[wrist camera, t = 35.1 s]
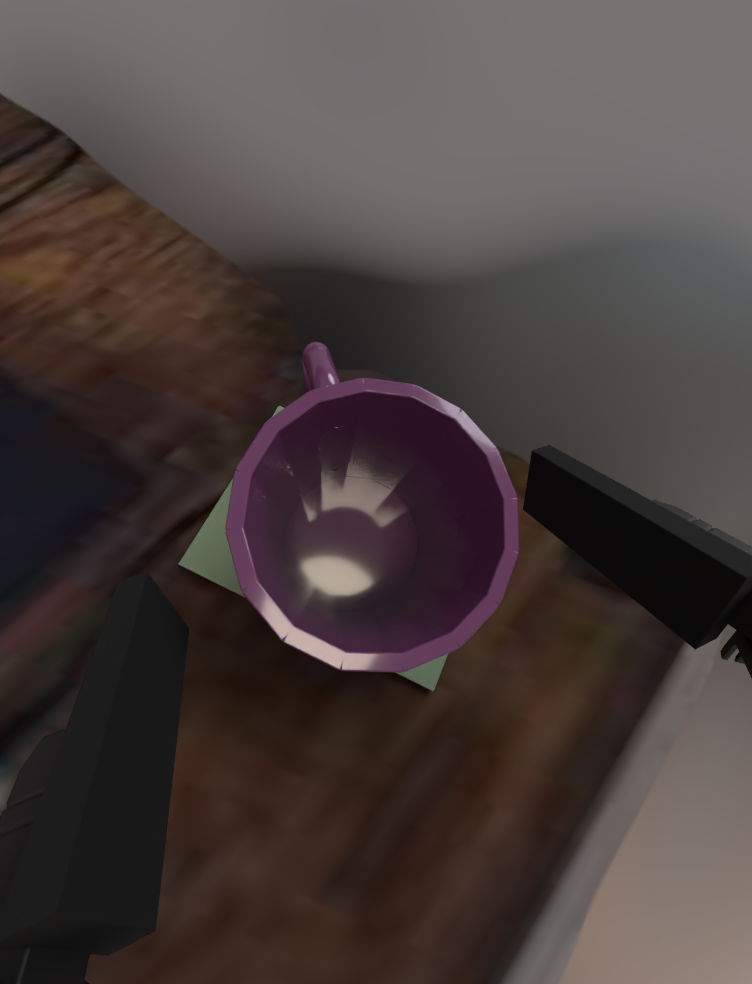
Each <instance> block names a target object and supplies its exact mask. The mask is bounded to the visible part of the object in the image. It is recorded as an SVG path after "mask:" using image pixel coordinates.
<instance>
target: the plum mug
mask: <svg viewBox="0 0 752 984" xmlns="http://www.w3.org/2000/svg"><path fill="white" fill-rule="evenodd" d="M302 361H303V370H304V379H305V389H306V394H304V395H303V396H301V397H300V398H299V399H297V400H296V401H294V402H293V403H291V404H290V405H289V406H287V407H286V408H284V409H283V410H281V411H280V412H278V413H277V414H276V415H274V416H273V417H271V418H270V419H268V420H267V422H265V423H264V425H263V426H262V428H261V429H260V431H259V433H258V434H257V436H256V437H255V439H254V440H253V442H252V444H251V445H250V447H249V448H248V450H247V451H246V453H245V455H244V456H243V458H242V459H241V461H240V462H239V464H238V466H237V467H236V469H235V470H236V471H235V472H234V476H233V482H232V489H231V495H230V501H229V507H228V514H227V520H226V526H225V529H226V532H225V533H226V537H227V540H228V544H229V548H230V552H231V556H232V559H233V563H234V567H235V571H236V575H237V578H238V582H239V586H240V589H241V591H242V593H243V595H244V596H245V597H246V598H247V600H248V601H249V602H250V603H251V605H252V606H253V607H254V608H255V609H256V611H257V612H258V613H259V614H260V616H261V617H262V618H263V619H264V621H265V622H266V623H267V624H268V626H269V627H270V628H271V629H272V630H273V632H274V633H275V634H276V635H277V637H278V638H279V639H280V640H281V641H283V643H285V644H287V645H289V646H291V647H293V648H295V649H297V650H299V651H301V652H303V653H305V654H307V655H309V656H311V657H313V658H315V659H317V660H319V661H321V662H323V663H325V664H327V665H329V666H331V667H333V668H335V669H337V670H340V669H341V671H361V672H398V673H402V672H403V671H404V672H406V671H408V670H411V669H413V668H415V667H418V666H420V665H422V664H425V663H427V662H430V661H432V660H434V659H437V658H439V657H441V656H444V655H446V654H448V653H451V652H453V651H455V650H458V649H459V647H462V646H463V645H464V644H465V642H466V641H467V640H468V639H469V638H470V637H471V636H472V635H473V634H474V633H475V632H476V631H477V630H478V628H479V627H480V626H481V625H482V624H483V623H484V622H485V621H486V620H487V619H488V618H489V617H490V616H491V615H492V613H493V612H494V611H495V610H496V609H497V608H498V607H499V605H500V604H501V601H502V598H503V596H504V593H505V590H506V587H507V585H508V582H509V579H510V576H511V574H512V571H513V568H514V565H515V563H516V560H517V557H518V554H519V553H518V552H519V524H518V499H517V495H516V492H515V490H514V487H513V485H512V482H511V480H510V478H509V475H508V473H507V470H506V468H505V465H504V463H503V461H502V458H501V456H500V453H499V451H498V449H496V446H495V445H494V444H493V443H492V442H491V440H490V439H488V437H487V436H486V435H485V434H484V433H483V432H482V431H481V430H480V428H479V427H478V426H477V425H476V424H475V423H474V422H473V421H472V420H471V419H470V417H469V416H468V415H467V414H466V413H465V412H464V411H463V410H461V408H459V407H457V406H455V405H453V404H451V403H449V402H448V401H446V400H444V399H441V398H440V397H438V396H436V395H434V394H432V393H430V392H429V391H427V390H425V389H423V388H421V387H419V386H417V385H416V386H415V385H414V384H407V383H400V382H393V381H385V380H378V379H370V378H364V379H363V378H359V379H355V380H351V381H347V382H342V383H340V380H339V377H338V374H337V371H336V368H335V365H334V362H333V360H332V357H331V354H330V351H329V349H328V348H327V347H326V346H325V345H324V344H322V343H320V342H311V343H309V344H308V345H306V346H305V348H304V350H303V353H302Z"/></svg>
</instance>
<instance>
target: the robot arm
mask: <svg viewBox="0 0 752 984" xmlns="http://www.w3.org/2000/svg"><path fill="white" fill-rule="evenodd" d="M523 510H524V511H526V512H527V513H528V514H529V515H531V516H532V517H533V518H534V519H536V520H537V521H538V522H539V523H540V524H542V525H543V526H544V527H545V528H547V529H548V530H549V531H550V532H552V533H553V534H554V535H555V536H556V537H558V538H559V539H560V540H561V541H563V542H564V543H565V544H566V545H568V546H569V547H570V548H571V549H572V550H574V551H575V552H576V553H577V554H579V555H580V556H581V557H582V558H584V559H585V560H586V561H587V562H588V563H590V564H591V565H592V566H593V567H595V568H596V569H597V570H598V571H599V572H601V573H602V574H603V575H604V576H606V577H607V578H608V579H609V580H611V581H612V582H613V583H614V584H615V585H617V586H618V587H619V588H620V589H622V590H623V591H624V592H625V593H627V594H628V595H629V596H630V597H631V598H633V599H634V600H635V601H636V602H638V603H639V604H640V605H641V606H643V607H644V608H645V609H646V610H647V611H649V612H650V613H651V614H652V615H654V616H655V617H656V618H657V619H659V620H660V621H661V622H662V623H663V624H665V625H666V626H667V627H668V628H670V629H671V630H672V631H673V632H675V633H676V634H677V635H678V636H679V637H681V638H682V639H683V640H684V641H686V642H687V643H688V644H689V645H691V646H692V647H693V648H694V649H697V648H699V647H701V646H703V645H705V644H707V643H709V642H710V641H712V640H714V639H716V638H717V637H718V636H719V635H720V633H721V632H722V631H723V629H724V628H725V627H726V626H727V624H729V625H730V626H732V627H733V628H735V629H736V632H735V633H734V634H733V636H732V637H731V638H730V639H729V640H728V642H727V643H726V644H725V645H724V647H723V648H722V650H721V657H722V659H725V660H727V659H728V658H729V657H730V656H731V655H732V654H733V652H734V651H735V650H736V649H737V648H738V650H739V653H738V654H737V655H736V658H735V662H739V663H744V664H745V665H746V667H747V669H748V671H749V673H750V675H751V678H752V547H751V546H749V545H747V544H745V543H744V542H741V541H740V540H738V539H736V538H734V537H732V536H730V535H728V534H726V533H725V532H723V531H721V530H719V529H717V528H712V526H711V525H709V524H708V523H706V522H704V521H702V520H700V519H699V520H697V519H696V517H694V516H692V515H691V514H689V513H687V512H685V511H683V510H681V509H679V508H677V507H675V506H672V505H669V504H666V503H662V502H659V501H656V500H653V501H651V500H649V499H648V498H646V497H644V496H642V495H640V494H638V493H637V492H635V491H633V490H631V489H629V488H627V487H626V486H624V485H622V484H620V483H618V482H616V481H615V480H613V479H611V478H609V477H607V476H605V475H604V474H602V473H600V472H598V471H596V470H594V469H592V468H591V467H589V466H587V465H585V464H583V463H582V462H580V461H578V460H576V459H574V458H572V457H570V456H569V455H567V454H565V453H563V452H561V451H559V450H558V449H556V448H554V447H552V446H550V445H548V446H544V447H541V448H538V449H535V450H532V454H531V461H530V467H529V474H528V480H527V487H526V493H525V500H524V506H523ZM188 635H189V627H188V626H187V625H186V623H185V622H184V621H183V619H182V618H181V617H180V615H179V614H178V613H177V611H176V610H175V609H174V607H173V606H172V604H171V603H170V602H169V600H168V599H167V598H166V596H165V595H164V594H163V592H162V591H161V590H160V588H159V587H158V586H157V584H156V583H155V581H154V580H153V579H152V577H151V576H150V575H149V573H148V572H146V573H143V574H140V575H137V576H134V577H131V578H127V579H124V580H121V581H118V584H117V587H116V590H115V593H114V595H113V598H112V601H111V604H110V607H109V609H108V612H107V615H106V618H105V621H104V623H103V626H102V629H101V632H100V635H99V637H98V640H97V643H96V646H95V649H94V652H93V654H92V657H91V660H90V663H89V666H88V668H87V671H86V674H85V677H84V680H83V682H82V685H81V688H80V691H79V694H78V696H77V699H76V702H75V705H74V708H73V711H72V713H71V716H70V719H69V722H68V725H67V727H66V729H63V730H61V731H58V732H56V733H53V734H50V735H48V736H45V737H43V739H42V740H41V741H40V743H39V744H38V746H37V747H36V748H35V750H34V751H33V753H32V754H31V756H30V757H29V758H28V760H27V761H26V763H25V764H24V765H23V767H22V768H21V770H20V772H19V774H18V777H17V779H16V782H15V784H14V786H13V789H12V791H11V794H10V796H9V798H8V801H7V803H6V804H7V809H6V810H4V811H3V813H2V815H1V817H0V984H89V983H88V982H87V981H85V980H84V978H85V973H86V968H87V963H88V958H89V954H97V955H111V954H113V953H115V952H116V951H118V950H120V949H122V948H124V947H126V946H128V945H130V944H132V943H134V942H136V941H138V940H139V939H141V938H143V937H145V936H147V935H149V934H151V933H153V932H155V931H156V922H157V913H158V904H159V895H160V886H161V877H162V868H163V859H164V850H165V841H166V832H167V824H168V815H169V806H170V797H171V788H172V779H173V770H174V761H175V752H176V743H177V734H178V725H179V716H180V707H181V698H182V689H183V680H184V671H185V662H186V653H187V644H188Z"/></svg>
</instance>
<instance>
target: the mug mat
mask: <svg viewBox="0 0 752 984" xmlns="http://www.w3.org/2000/svg"><path fill="white" fill-rule="evenodd" d="M283 409H284V408H283V407H281V406H279V407H278V408H277V410H276V411H275V413H274V414H273V416H274V415H276V414H277V413H278V412H280V411H281V410H283ZM273 416H272V417H273ZM232 482H233V479H232V481H231V482H230V484H229V485H228V487H227V488H226V490H225V492H224V493H223V495H222V496H221V498H220V499H219V501H218V503H217V504H216V506H215V507H214V509H213V510H212V512H211V514H210V515H209V517H208V518H207V520H206V521H205V523H204V525H203V526H202V528H201V529H200V531H199V532H198V534H197V536H196V537H195V539H194V540H193V542H192V543H191V545H190V547H189V548H188V550H187V551H186V553H185V555H184V556H183V558H182V559H181V561H180V562H179V565H181V566H183V567H185V568H187V569H189V570H191V571H193V572H195V573H197V574H199V575H201V576H203V577H205V578H207V579H209V580H211V581H213V582H215V583H217V584H219V585H221V586H223V587H225V588H227V589H229V590H231V591H233V592H235V593H237V594H239V595H241V596H243V597H245V596H244V595H243V593H242V591H241V589H240V586H239V582H238V578H237V575H236V571H235V567H234V563H233V559H232V556H231V552H230V548H229V544H228V540H227V537H226V533H225V532H226V529H225V526H226V520H227V514H228V507H229V501H230V495H231V489H232ZM245 598H246V597H245ZM447 656H448V654H446V655H444V656H441V657H439V658H437V659H434V660H432V661H430V662H427V663H425V664H422V665H420V666H418V667H415V668H413V669H411V670H408V671H406V672H404V671H403V672H402V673H398V672H395V673H397V674H399V675H401V676H403V677H405V678H407V679H409V680H411V681H413V682H415V683H417V684H419V685H421V686H423V687H425V688H427V689H429V690H431V691H434V689H435V686H436V684H437V681H438V679H439V676H440V674H441V671H442V668H443V666H444V663H445V661H446V658H447Z"/></svg>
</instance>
